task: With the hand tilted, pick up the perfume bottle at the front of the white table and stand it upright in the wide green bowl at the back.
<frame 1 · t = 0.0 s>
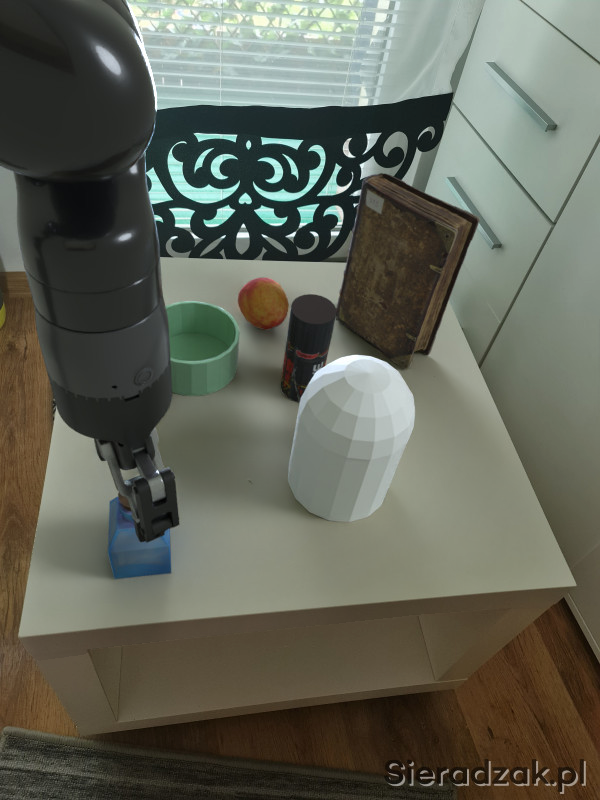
hand: (130, 493, 50), 22 cm above the table, tool pointing down, fingers open, 8 cm apart
green bowl: (193, 363, 91), on the table
deodorant: (300, 388, 91), on the table
book: (379, 335, 101), on the table
perfume bottle: (143, 551, 71), on the table
white dome-topped cylinder: (337, 478, 81), on the table
fruit: (262, 322, 99), on the table
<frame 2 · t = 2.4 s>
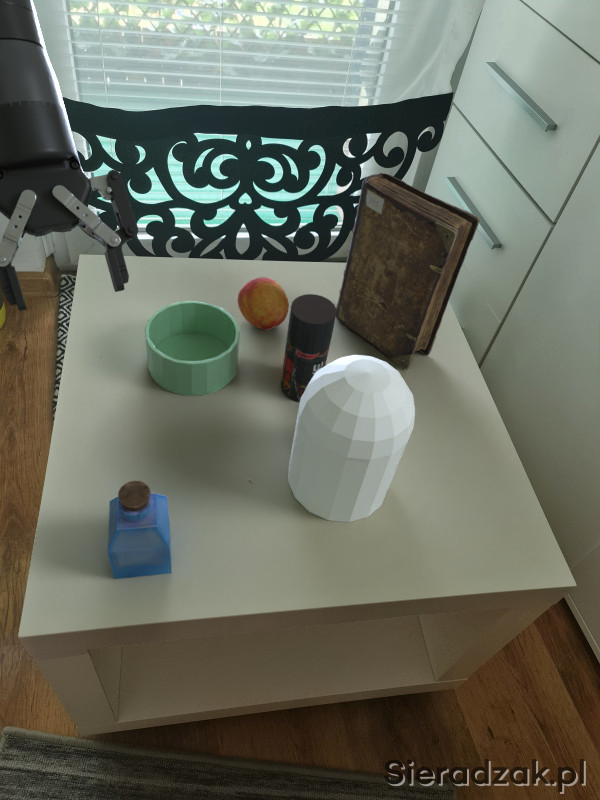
hand: (73, 300, 56), 28 cm above the table, tool tilted 40°, fingers open, 8 cm apart
nothing on the table moved.
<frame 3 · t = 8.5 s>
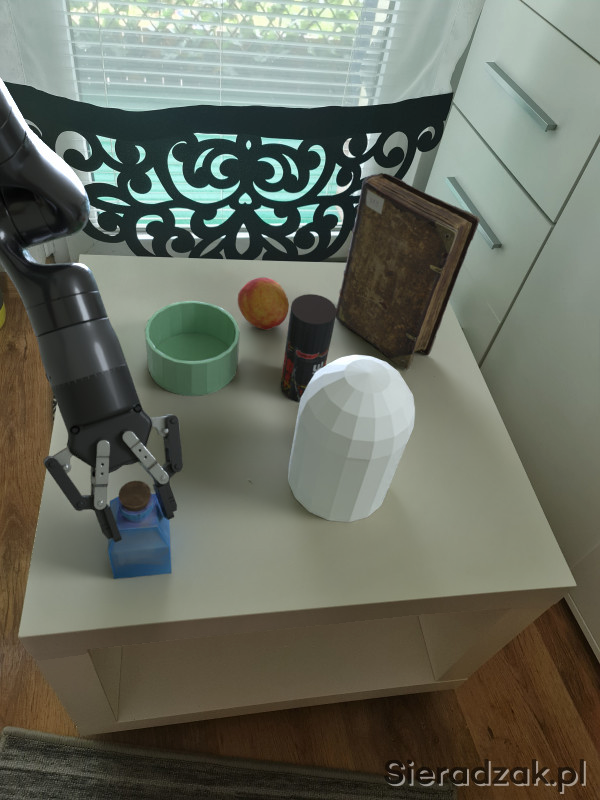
hand: (143, 527, 64), 8 cm above the table, tool tilted 45°, fingers closed on perfume bottle, 5 cm apart
perfume bottle: (143, 551, 71), on the table, touching gripper
everything else where it was.
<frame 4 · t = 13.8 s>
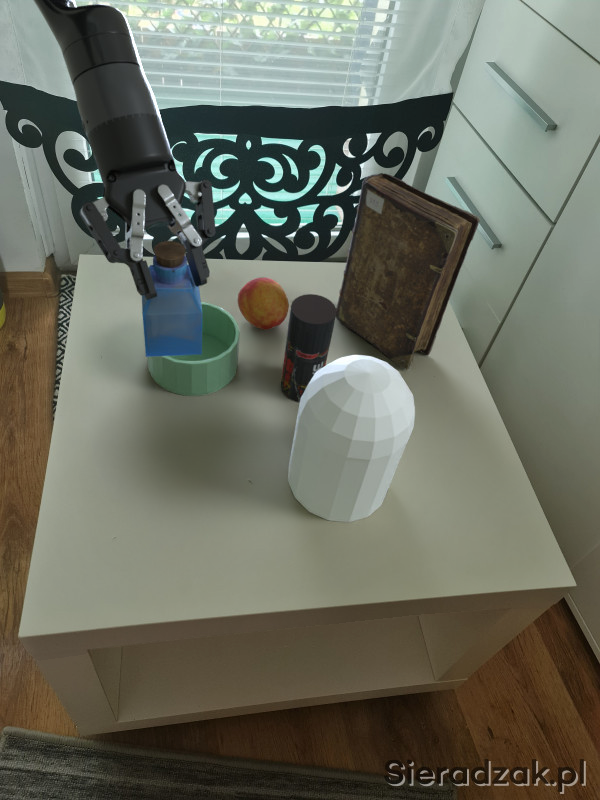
hand: (177, 290, 64), 24 cm above the table, tool tilted 45°, fingers closed on perfume bottle, 5 cm apart
perfume bottle: (172, 337, 71), point 16 cm above the table, touching gripper
everything else where it was.
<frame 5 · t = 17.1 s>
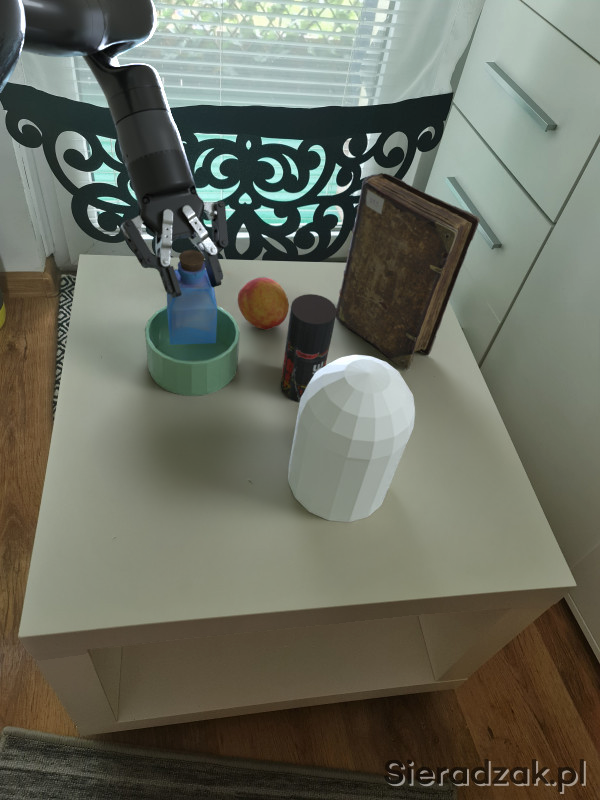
hand: (197, 290, 79), 15 cm above the table, tool tilted 45°, fingers closed on perfume bottle, 5 cm apart
perfume bottle: (191, 329, 86), point 7 cm above the table, touching gripper
everything else where it was.
when the fingers open (9 cm above the table, at t = 19.6 s): perfume bottle stays where it is, resting on green bowl.
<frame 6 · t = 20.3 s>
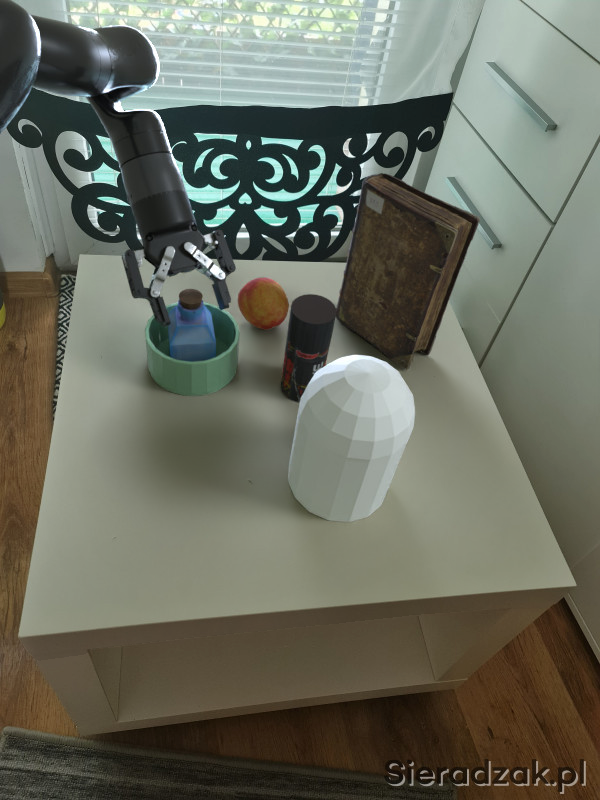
hand: (196, 317, 83), 10 cm above the table, tool tilted 45°, fingers open, 8 cm apart
perfume bottle: (191, 360, 91), resting on green bowl
everything else where it was.
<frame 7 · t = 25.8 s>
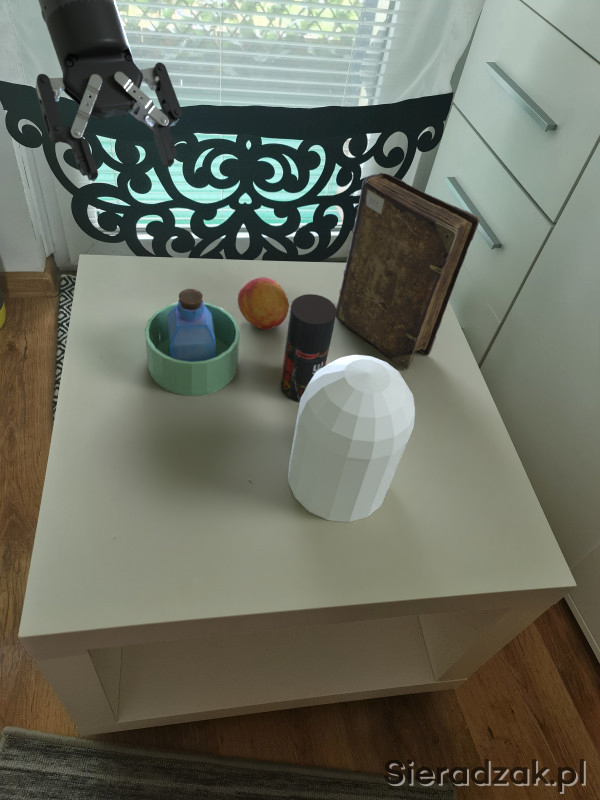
hand: (132, 171, 67), 31 cm above the table, tool tilted 45°, fingers open, 8 cm apart
nothing on the table moved.
at the end: perfume bottle inside the target area in the green bowl (0.2 cm from its centre), point 0.4 cm above the green bowl's base; perfume bottle tilted 0°; the gripper is holding nothing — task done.
